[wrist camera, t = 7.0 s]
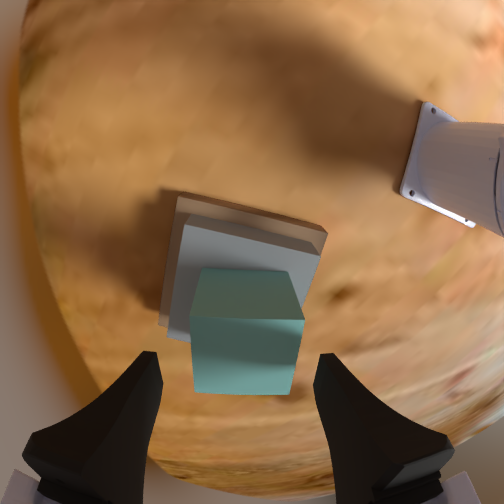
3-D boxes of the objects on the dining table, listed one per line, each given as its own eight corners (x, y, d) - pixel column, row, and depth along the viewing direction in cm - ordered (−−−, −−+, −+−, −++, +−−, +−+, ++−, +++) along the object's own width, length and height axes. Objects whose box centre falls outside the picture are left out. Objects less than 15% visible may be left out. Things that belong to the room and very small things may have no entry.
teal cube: (288, 271, 17) (305, 319, 12) (278, 339, 19) (288, 394, 14) (202, 267, 17) (189, 315, 12) (203, 336, 19) (194, 392, 14)
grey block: (311, 242, 19) (321, 256, 17) (276, 337, 22) (280, 358, 20) (191, 213, 18) (184, 224, 16) (173, 316, 21) (166, 337, 18)
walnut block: (318, 223, 21) (328, 233, 19) (279, 332, 25) (283, 350, 22) (185, 190, 20) (178, 196, 18) (164, 308, 23) (158, 325, 21)
